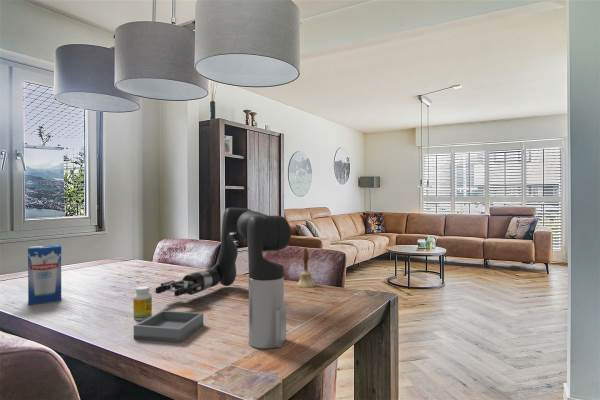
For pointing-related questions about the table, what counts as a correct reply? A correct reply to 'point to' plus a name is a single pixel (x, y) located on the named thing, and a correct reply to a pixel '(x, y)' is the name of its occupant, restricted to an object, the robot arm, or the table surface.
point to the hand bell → (305, 273)
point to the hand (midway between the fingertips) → (165, 292)
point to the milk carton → (44, 274)
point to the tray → (168, 326)
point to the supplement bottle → (142, 303)
